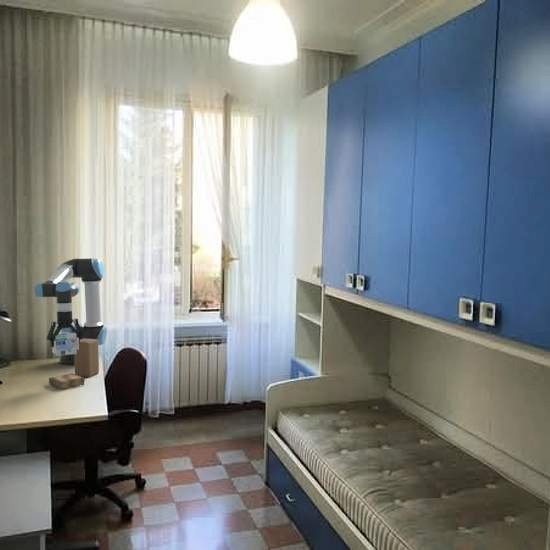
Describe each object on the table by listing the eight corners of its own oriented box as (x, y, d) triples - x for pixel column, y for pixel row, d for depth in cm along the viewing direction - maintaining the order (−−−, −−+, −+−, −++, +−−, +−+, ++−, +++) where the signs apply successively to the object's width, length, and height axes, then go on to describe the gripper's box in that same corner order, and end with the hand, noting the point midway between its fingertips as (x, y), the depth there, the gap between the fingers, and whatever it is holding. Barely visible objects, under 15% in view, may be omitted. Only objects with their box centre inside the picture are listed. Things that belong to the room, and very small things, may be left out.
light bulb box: (55, 356, 294) (55, 335, 294) (54, 353, 300) (53, 333, 300) (77, 353, 299) (76, 333, 298) (75, 351, 305) (74, 331, 304)
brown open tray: (72, 380, 311) (72, 372, 310) (84, 384, 302) (84, 377, 301) (49, 385, 301) (49, 377, 301) (61, 390, 292) (60, 382, 292)
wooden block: (73, 376, 319) (72, 341, 317) (84, 371, 329) (83, 337, 327) (89, 377, 316) (88, 342, 314) (99, 373, 326) (98, 339, 324)
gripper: (82, 307, 309) (83, 346, 311) (38, 312, 292) (40, 353, 293) (89, 308, 304) (90, 348, 306) (45, 313, 287) (46, 355, 288)
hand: (65, 351), depth 300 cm, fingers closed on light bulb box, 12 cm apart
